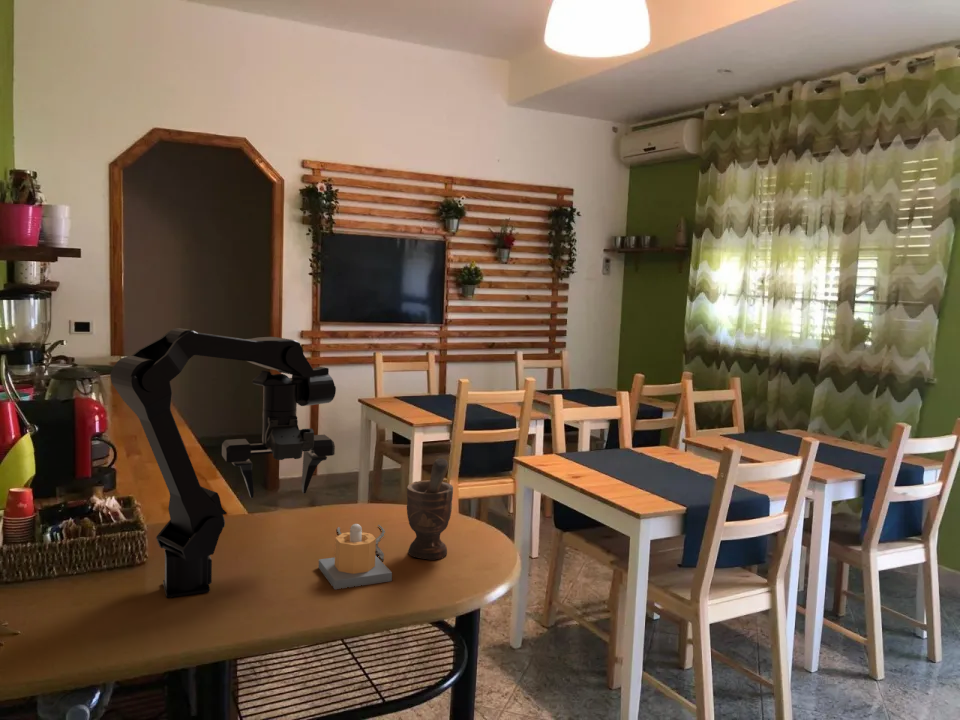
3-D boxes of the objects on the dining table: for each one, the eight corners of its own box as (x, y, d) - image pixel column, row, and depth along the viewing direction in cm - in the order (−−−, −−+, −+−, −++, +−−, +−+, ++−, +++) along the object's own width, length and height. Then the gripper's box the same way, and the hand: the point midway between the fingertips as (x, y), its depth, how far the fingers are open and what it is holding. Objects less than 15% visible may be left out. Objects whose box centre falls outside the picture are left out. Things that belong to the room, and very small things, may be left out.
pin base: (334, 589, 124) (336, 536, 123) (318, 567, 133) (319, 518, 132) (391, 580, 129) (393, 530, 128) (372, 560, 137) (374, 512, 136)
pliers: (376, 521, 158) (416, 553, 140) (376, 525, 158) (416, 558, 141) (332, 527, 153) (367, 561, 136) (332, 531, 153) (367, 565, 136)
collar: (342, 575, 126) (343, 546, 126) (331, 561, 132) (332, 534, 131) (378, 570, 129) (379, 542, 129) (366, 557, 135) (367, 530, 134)
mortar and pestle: (469, 562, 139) (474, 456, 137) (430, 571, 133) (435, 461, 131) (433, 543, 148) (437, 443, 146) (395, 551, 142) (399, 448, 140)
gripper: (232, 419, 121) (231, 514, 123) (344, 415, 130) (342, 503, 131) (221, 407, 131) (220, 495, 132) (327, 404, 139) (324, 486, 141)
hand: (278, 495), depth 134 cm, fingers open, 9 cm apart
